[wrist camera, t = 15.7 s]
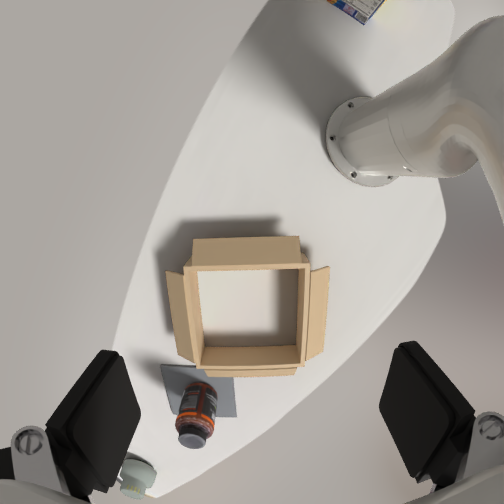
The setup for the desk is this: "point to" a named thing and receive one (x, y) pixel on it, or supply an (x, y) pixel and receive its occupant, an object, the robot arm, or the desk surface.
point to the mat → (186, 375)
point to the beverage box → (358, 8)
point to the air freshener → (136, 478)
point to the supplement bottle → (196, 415)
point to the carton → (248, 258)
